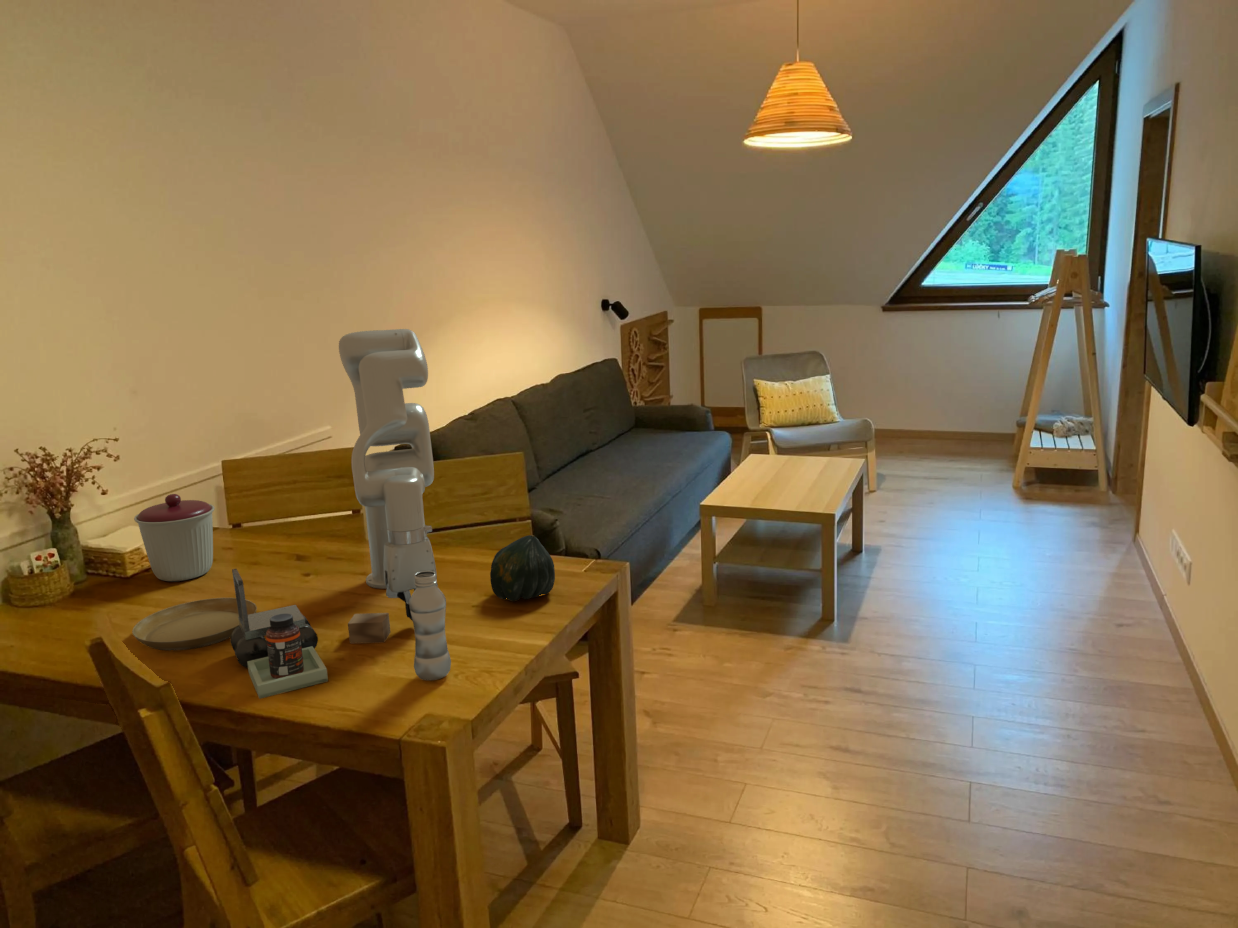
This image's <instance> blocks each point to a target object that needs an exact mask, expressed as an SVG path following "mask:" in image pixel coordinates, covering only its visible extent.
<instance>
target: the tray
mask: <svg viewBox="0 0 1238 928" xmlns="http://www.w3.org/2000/svg"><path fill="white" fill-rule="evenodd" d="M315 649H316V648H315ZM315 649H314V648H313V646H311V647H307V648H302V655H303V664H304V670H303V672H302V673H298V674H294V675H290V676H286V677H282V678H278V679H275V678H273V677H272V676H271V674H270V667H269V658H268V657H264V658H260V659H256V660H251V661H247V664H248V668H247V670H248V675H249V678H250V679H251V682H252V684H253V688H254V689H255V692H256V693H257V697H258V699H259V700H261V699H264V698H268V697H273V696H275V695H280V694H285V693H288V692H293V691H296V690H299V689H303V688H307V687H312V686H315V685H318V684H319V685H320V684H323V683H327V682H329V677H328V669H327V667H326V666H325V663H324V662H323V660H322V658H320V656H319V654H318V652H317V650H315Z"/></svg>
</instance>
